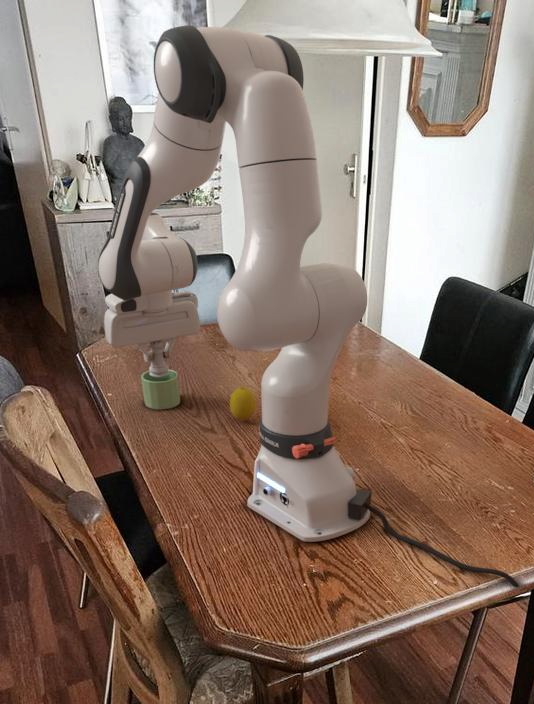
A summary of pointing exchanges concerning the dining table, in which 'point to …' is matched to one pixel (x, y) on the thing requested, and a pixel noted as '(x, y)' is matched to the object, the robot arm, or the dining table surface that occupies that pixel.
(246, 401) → the lemon
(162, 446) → the dining table surface
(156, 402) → the cup
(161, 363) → the rook chess piece
